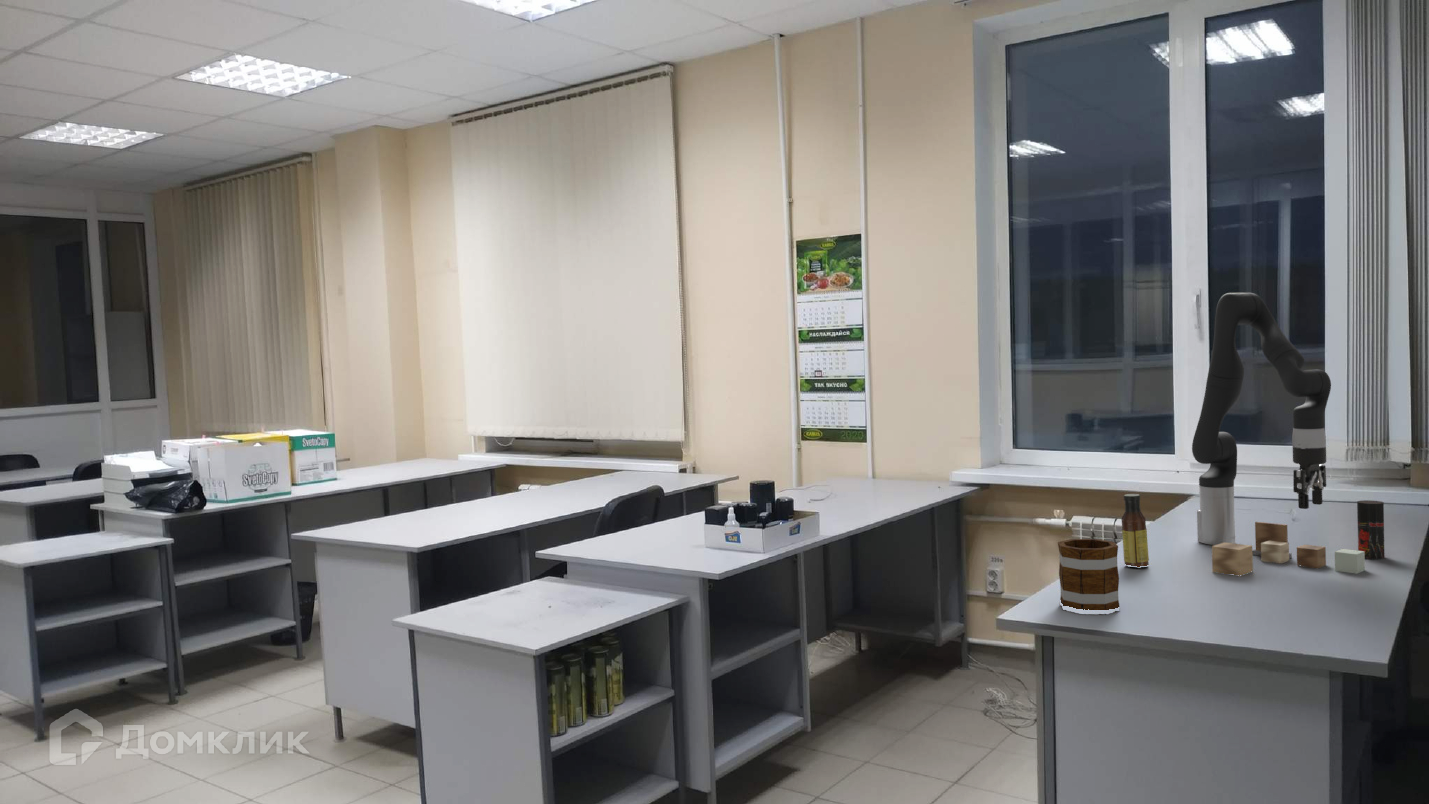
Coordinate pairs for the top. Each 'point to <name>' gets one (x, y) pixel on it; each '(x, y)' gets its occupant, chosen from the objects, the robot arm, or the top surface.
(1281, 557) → the birch cube
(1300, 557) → the walnut cube
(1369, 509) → the deodorant
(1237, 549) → the oak base block
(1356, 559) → the sage painted cube
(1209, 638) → the top surface
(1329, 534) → the top surface
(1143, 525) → the sauce bottle
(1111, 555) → the mug
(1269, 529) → the walnut card
